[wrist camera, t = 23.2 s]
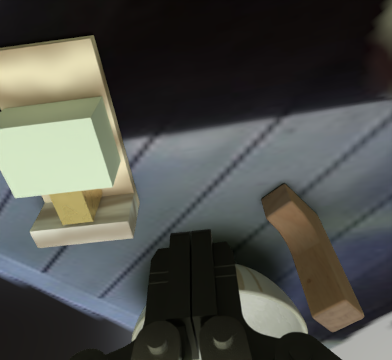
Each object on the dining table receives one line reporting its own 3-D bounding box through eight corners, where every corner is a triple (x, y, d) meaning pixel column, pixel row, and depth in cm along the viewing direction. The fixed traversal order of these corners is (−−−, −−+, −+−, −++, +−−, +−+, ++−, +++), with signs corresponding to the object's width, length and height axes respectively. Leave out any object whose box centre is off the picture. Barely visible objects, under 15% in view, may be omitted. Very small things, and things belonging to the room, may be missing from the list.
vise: (-19, 50, 40) (-57, 71, 33) (93, 35, 39) (75, 53, 33) (55, 212, 53) (38, 248, 47) (139, 202, 53) (133, 238, 46)
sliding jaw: (4, 108, 42) (-21, 131, 37) (102, 96, 41) (90, 117, 36) (33, 170, 47) (15, 198, 42) (120, 160, 46) (112, 187, 41)
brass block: (63, 167, 47) (48, 194, 42) (92, 163, 47) (80, 190, 42) (75, 196, 50) (62, 224, 45) (102, 193, 50) (93, 221, 45)
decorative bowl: (215, 200, 53) (222, 261, 43) (319, 279, 63) (343, 343, 54) (110, 286, 63) (95, 350, 53) (214, 341, 74) (218, 403, 64)
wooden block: (259, 199, 53) (288, 301, 38) (284, 181, 51) (323, 281, 36) (294, 230, 56) (332, 334, 42) (318, 215, 55) (366, 318, 40)
